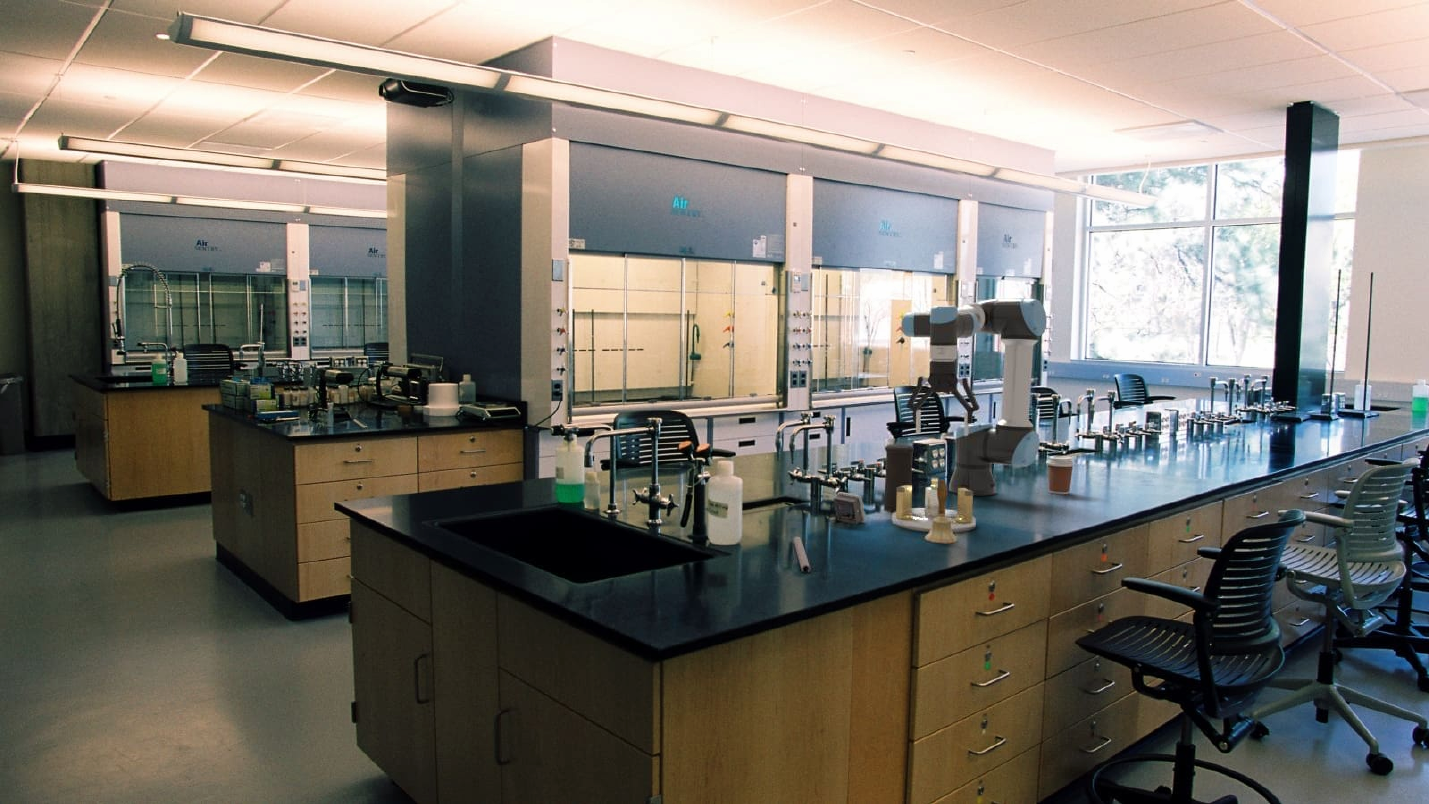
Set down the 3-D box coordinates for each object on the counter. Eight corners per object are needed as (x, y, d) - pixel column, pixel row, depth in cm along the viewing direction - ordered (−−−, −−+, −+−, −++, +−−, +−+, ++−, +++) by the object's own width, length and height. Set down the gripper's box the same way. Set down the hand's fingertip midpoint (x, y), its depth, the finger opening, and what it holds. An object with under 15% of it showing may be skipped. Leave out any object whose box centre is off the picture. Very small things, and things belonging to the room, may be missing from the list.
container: (915, 508, 276) (916, 443, 275) (908, 513, 268) (910, 447, 267) (887, 505, 280) (888, 441, 278) (879, 510, 272) (881, 445, 270)
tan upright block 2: (952, 519, 251) (953, 487, 250) (967, 518, 252) (968, 487, 251) (961, 523, 246) (962, 491, 245) (976, 523, 246) (977, 491, 246)
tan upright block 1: (901, 515, 256) (901, 484, 256) (915, 517, 254) (916, 486, 253) (891, 518, 252) (892, 486, 251) (906, 520, 249) (907, 488, 248)
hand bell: (951, 545, 231) (953, 483, 229) (920, 540, 235) (922, 480, 234) (961, 538, 238) (963, 479, 236) (930, 534, 242) (932, 475, 241)
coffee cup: (1069, 490, 308) (1070, 455, 307) (1077, 495, 299) (1078, 459, 298) (1041, 489, 309) (1043, 455, 308) (1048, 494, 300) (1050, 459, 299)
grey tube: (801, 573, 205) (801, 564, 205) (793, 544, 232) (793, 536, 232) (810, 573, 205) (810, 564, 205) (800, 544, 232) (801, 536, 232)
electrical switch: (866, 522, 256) (864, 494, 255) (856, 526, 253) (854, 498, 251) (842, 518, 262) (841, 490, 261) (832, 522, 259) (831, 494, 257)
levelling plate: (880, 515, 265) (881, 479, 264) (953, 513, 269) (954, 477, 268) (910, 534, 242) (912, 494, 241) (990, 531, 246) (991, 492, 245)
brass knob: (941, 511, 261) (942, 481, 261) (926, 510, 262) (927, 480, 262) (941, 507, 267) (942, 478, 266) (926, 506, 268) (927, 477, 267)
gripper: (896, 360, 258) (895, 433, 261) (986, 361, 248) (985, 438, 250) (902, 358, 265) (901, 430, 268) (990, 360, 255) (988, 434, 257)
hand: (942, 434), depth 259 cm, fingers open, 13 cm apart
